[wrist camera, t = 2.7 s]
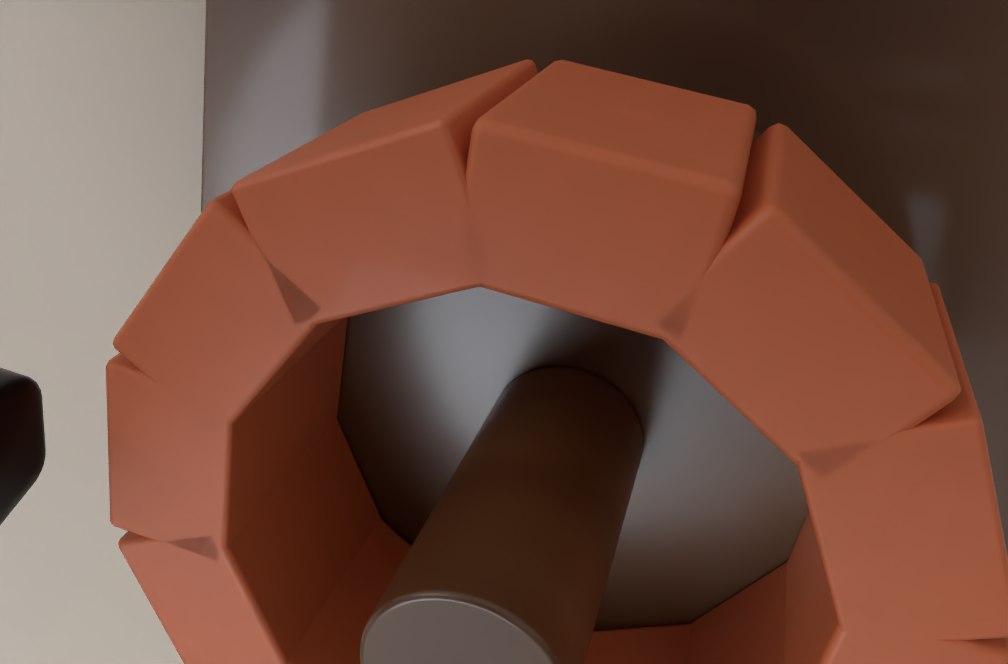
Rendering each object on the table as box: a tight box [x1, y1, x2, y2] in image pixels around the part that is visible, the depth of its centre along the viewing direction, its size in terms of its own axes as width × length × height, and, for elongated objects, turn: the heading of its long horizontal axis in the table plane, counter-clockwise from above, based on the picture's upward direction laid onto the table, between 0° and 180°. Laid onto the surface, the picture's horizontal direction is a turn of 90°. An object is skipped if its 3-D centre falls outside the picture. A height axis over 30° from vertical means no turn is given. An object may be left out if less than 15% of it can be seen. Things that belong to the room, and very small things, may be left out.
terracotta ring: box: [106, 59, 1008, 664], centre depth 9 cm, size 7×7×2 cm
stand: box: [201, 0, 1008, 664], centre depth 10 cm, size 11×11×6 cm
